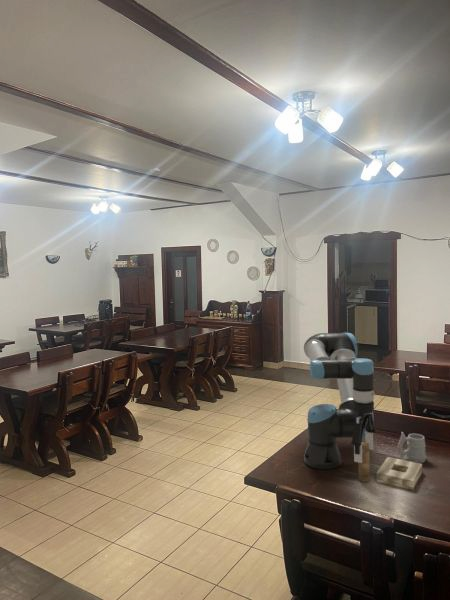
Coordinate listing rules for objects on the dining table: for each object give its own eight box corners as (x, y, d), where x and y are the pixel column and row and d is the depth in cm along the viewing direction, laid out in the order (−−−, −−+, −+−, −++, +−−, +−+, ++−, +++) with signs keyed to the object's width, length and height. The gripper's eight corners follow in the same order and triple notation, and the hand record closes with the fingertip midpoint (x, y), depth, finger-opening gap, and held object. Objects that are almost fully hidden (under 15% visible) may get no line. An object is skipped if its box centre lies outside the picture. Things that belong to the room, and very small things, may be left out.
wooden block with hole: (376, 481, 171) (376, 472, 171) (387, 465, 184) (387, 456, 184) (413, 490, 164) (413, 481, 164) (422, 472, 177) (422, 463, 177)
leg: (356, 480, 172) (356, 445, 171) (360, 476, 176) (359, 441, 174) (367, 483, 170) (367, 447, 169) (370, 478, 173) (370, 443, 172)
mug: (430, 462, 185) (430, 434, 184) (402, 464, 184) (402, 436, 183) (420, 454, 193) (420, 427, 192) (393, 456, 192) (393, 429, 191)
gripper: (363, 411, 158) (363, 470, 159) (382, 393, 178) (383, 445, 180) (342, 407, 162) (342, 465, 164) (363, 390, 182) (364, 442, 184)
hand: (363, 455), depth 172 cm, fingers open, 13 cm apart
